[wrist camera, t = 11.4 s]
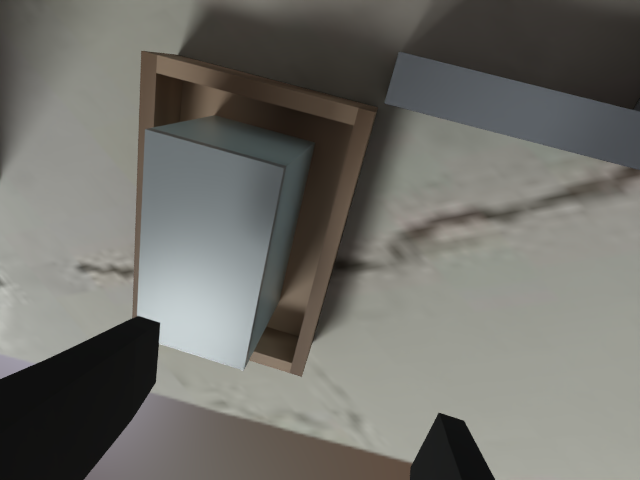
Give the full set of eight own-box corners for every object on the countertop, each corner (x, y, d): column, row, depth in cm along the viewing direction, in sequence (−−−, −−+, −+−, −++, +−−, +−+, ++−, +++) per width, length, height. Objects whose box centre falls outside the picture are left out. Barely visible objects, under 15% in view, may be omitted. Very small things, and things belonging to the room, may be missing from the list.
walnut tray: (378, 107, 15) (375, 112, 13) (311, 343, 20) (301, 376, 18) (177, 54, 16) (141, 50, 14) (160, 297, 21) (132, 323, 19)
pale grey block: (315, 142, 16) (283, 168, 11) (279, 301, 19) (243, 370, 15) (214, 115, 16) (145, 129, 12) (195, 276, 20) (135, 336, 15)
